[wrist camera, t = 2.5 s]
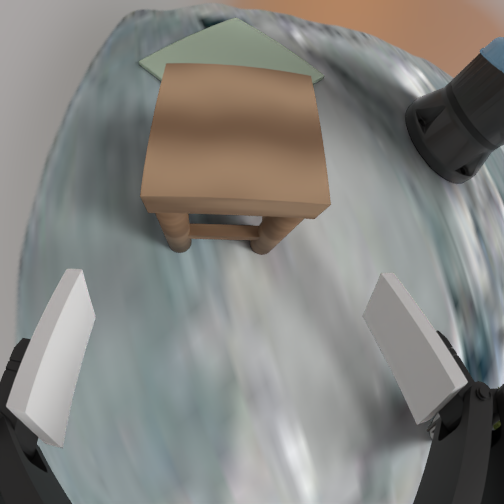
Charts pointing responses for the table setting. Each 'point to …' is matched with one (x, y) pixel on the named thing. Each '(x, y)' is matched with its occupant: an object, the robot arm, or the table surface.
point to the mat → (230, 51)
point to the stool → (234, 153)
